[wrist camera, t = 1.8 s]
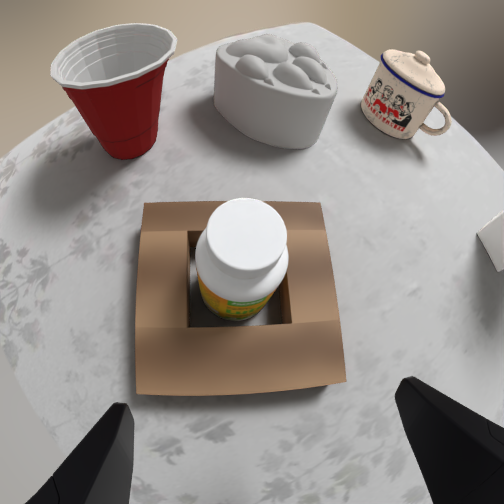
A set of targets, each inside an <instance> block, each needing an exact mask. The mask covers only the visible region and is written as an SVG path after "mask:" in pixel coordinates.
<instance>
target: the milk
mask: <svg viewBox="0 0 504 504" xmlns="http://www.w3.org/2000/svg"><path fill="white" fill-rule="evenodd" d="M477 234H478V236H479V238H480V240H481V241H482V243H483V245H484V247H485V249H486V251H487V252H488V254H489V256H490V258H491V260H492V262H493V264H494V266H495V268H496V270H497V272H500V271H502V270H504V210H503V211H501V212H500V213H499V214H498V215H496V216H495V217H494V218H492V219H491V220H490V221H489V222H488V223H487V224H486V225H485V226H484V227H483V228H481V229H480V230H479V231H478V232H477Z"/></svg>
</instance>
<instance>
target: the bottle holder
mask: <svg viewBox="0 0 504 504" xmlns="http://www.w3.org/2000/svg"><path fill="white" fill-rule="evenodd" d="M225 202H227V201H196V202H157V203H144V209H143V217H142V226H141V236H140V246H139V258H138V272H137V289H136V316H135V369H136V394H146V395H175V396H206V395H235V394H252V393H265V392H276V391H285V390H294V389H302V388H310V387H317V386H324V385H330V384H336V383H342V382H346V372H345V362H344V352H343V343H342V334H341V326H340V318H339V310H338V303H337V296H336V289H335V282H334V276H333V269H332V263H331V257H330V251H329V246H328V240H327V234H326V229H325V224H324V219H323V213H322V208H321V204H320V203H316V202H276V201H262V202H264V203H266V204H268V205H269V206H271V207H272V208H273V209H275V210H276V211H277V213H278V214H279V215H280V216H281V218H282V220H283V221H284V224H285V227H286V231H287V242H286V245H287V249H288V267H287V271H286V273H285V276H284V278H283V280H282V281H281V283H280V285H279V294H280V304H281V315H282V324H277V325H260V326H237V327H199V328H190V247H196V246H197V242H198V240H199V238H200V236H201V234H202V232H203V231H204V230H205V228H206V227H207V223H208V221H209V218H210V216H211V215H212V213H213V212H214V211H215V210H216V209H217V208H218V207H219V206H220V205H222V204H223V203H225Z"/></svg>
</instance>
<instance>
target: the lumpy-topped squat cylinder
mask: <svg viewBox="0 0 504 504" xmlns="http://www.w3.org/2000/svg"><path fill="white" fill-rule="evenodd" d="M337 89H338V84H337V80H336V77H335V75H334V74H333V72H332V71H331V69H330V68H329V67H328V65H327V64H326V63H325V62H323V61H322V60H321V59H320V56H319V54H318V52H317V50H316V49H315V48H314V47H313V46H311V45H309V44H307V43H302V42H300V43H296V44H294V43H292V42H290V41H288V40H285V39H283V38H280V37H277V36H275V35H272V34H264V35H261V36H257V37H253V38H250V39H242V40H238V41H236V42H232V43H227V44H224V45H222V46H220V47H219V48H218V49H217V52H216V61H215V82H214V106H215V108H216V109H217V110H218V112H219V113H220V114H221V115H222V116H223V117H224V118H225V119H226V120H227V121H228V122H229V123H230V124H232V125H233V126H234V127H235V128H236V129H238V130H239V131H240V132H242V133H243V134H244V135H246V136H248V137H249V138H251V139H254V140H256V141H259V142H262V143H265V144H268V145H272V146H275V147H279V148H286V149H305V148H308V147H311V146H312V145H314V144H315V143H316V142H317V140H318V138H319V135H320V133H321V131H322V128H323V126H324V123H325V121H326V118H327V116H328V113H329V111H330V109H331V106H332V104H333V101H334V99H335V96H336V94H337Z"/></svg>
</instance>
